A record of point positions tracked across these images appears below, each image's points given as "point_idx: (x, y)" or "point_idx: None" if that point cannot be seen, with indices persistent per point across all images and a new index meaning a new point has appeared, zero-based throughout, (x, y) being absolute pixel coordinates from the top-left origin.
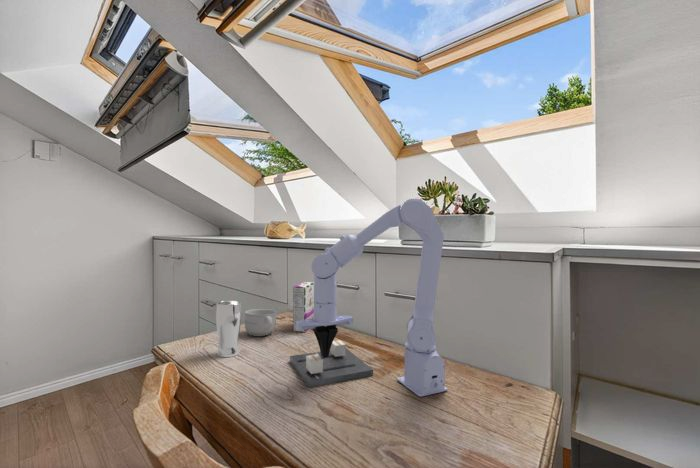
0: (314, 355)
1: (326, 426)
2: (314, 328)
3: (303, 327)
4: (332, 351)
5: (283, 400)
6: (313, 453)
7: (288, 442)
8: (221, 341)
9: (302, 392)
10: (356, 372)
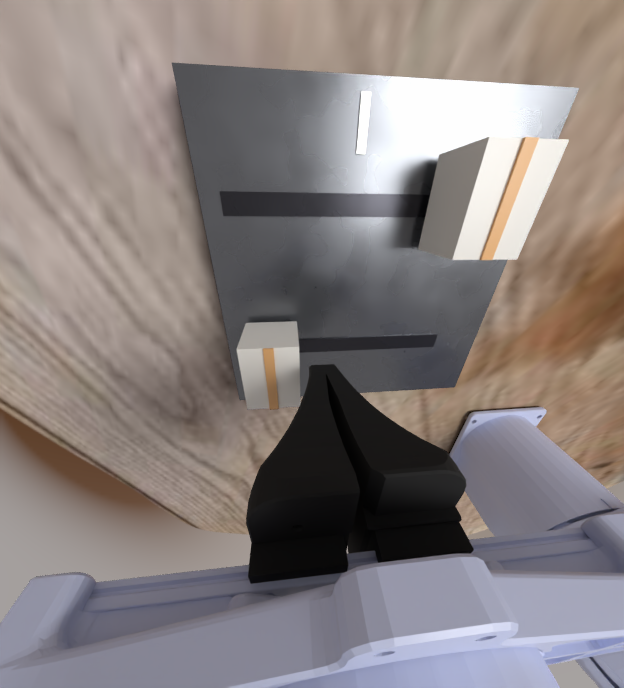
0: (279, 356)
1: (248, 494)
2: (254, 553)
3: (119, 617)
4: (436, 201)
5: (168, 420)
6: (217, 524)
7: (183, 509)
8: None
9: (222, 401)
10: (400, 389)
